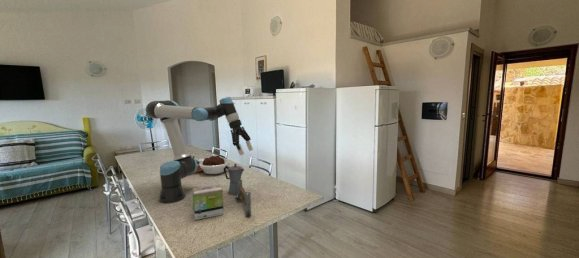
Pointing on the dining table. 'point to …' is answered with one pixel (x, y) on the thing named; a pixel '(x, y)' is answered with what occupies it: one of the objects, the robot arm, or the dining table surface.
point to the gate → (242, 194)
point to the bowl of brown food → (214, 165)
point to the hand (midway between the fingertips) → (246, 152)
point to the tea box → (207, 201)
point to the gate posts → (247, 199)
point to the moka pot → (234, 177)
